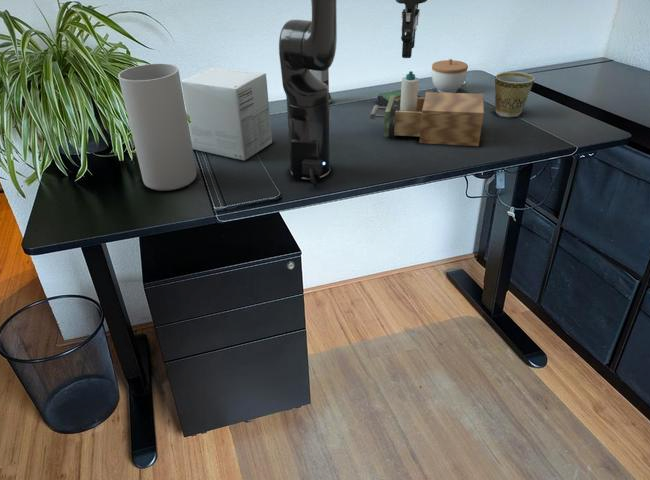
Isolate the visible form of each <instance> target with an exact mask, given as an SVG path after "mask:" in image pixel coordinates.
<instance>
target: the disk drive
mask: <svg viewBox="0 0 650 480" xmlns="http://www.w3.org/2000/svg"><path fill="white" fill-rule="evenodd" d="M391 95H395V111H399V102H400V97H401V89H399V90H393V91H388V92H383V93H381V92H380V93H378V95H377V102H378V103H379V104H380V105H382V107H387V105H388V102H389V99H390V97H391ZM417 97H419V98H423V97H422V96H420V95H418V96H417ZM394 115H395V113H394Z"/></svg>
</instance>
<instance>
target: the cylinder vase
mask: <svg viewBox="0 0 650 480" xmlns="http://www.w3.org/2000/svg"><path fill="white" fill-rule="evenodd" d="M117 77H118V81H119V86H120V91H121V95H122V98H123V103H124V106H125V112H126V116H127V119H128V123H129V128H130V133H131V136H132V140H133V144H134V145H133V146H134V149H135V153H136V157H137V162H138V165H139V170H140V174H141V179H142V182H143V185H144V186H145V187H147V188H149V189H150V190H153V191H161V192H168V191H174V190H179V189H182V188H184V187H187V186H189V185H190V184H192V183H193V182H194V181H195V180H196V178H197V168H196V163H195V156H194V150H193V148H192V142H191V136H190V130H189V125H188V119H187V113H186V107H185V101H184V95H183V89H182V84H181V81H182V80H181V75H180V69H179V67H178V66H177V65H175V64H170V63H147V64H140V65H135V66H132V67H128V68H126V69H124V70H121V71H120V72H119V73H118V74H117Z"/></svg>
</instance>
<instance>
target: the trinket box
mask: <svg viewBox="0 0 650 480" xmlns="http://www.w3.org/2000/svg"><path fill="white" fill-rule="evenodd" d="M468 68H469V65H468V63H466V62H464V61H460V60H453V58H449V59H445V60H439V61H435V62H433V63H432V64H431V82H432V85H433V86H434V88H435V89H436V91H437V92H440V93H457V91H458V90H459V89H461V87H462V86H463V84H464V83H465V80H466V78H467V75H468V74H467V72H468Z"/></svg>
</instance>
